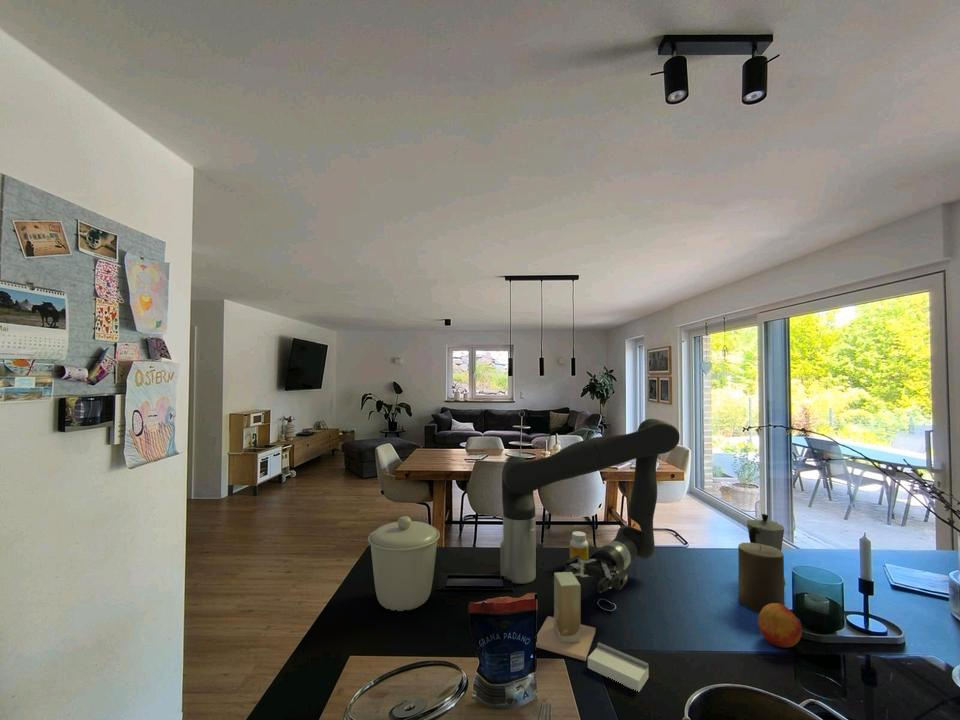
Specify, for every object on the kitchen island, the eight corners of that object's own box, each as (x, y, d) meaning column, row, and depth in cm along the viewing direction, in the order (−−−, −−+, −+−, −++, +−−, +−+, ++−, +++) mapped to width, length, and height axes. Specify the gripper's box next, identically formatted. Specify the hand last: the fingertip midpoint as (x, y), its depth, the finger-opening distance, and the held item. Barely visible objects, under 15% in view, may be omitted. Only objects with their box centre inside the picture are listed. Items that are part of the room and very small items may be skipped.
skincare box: (553, 626, 96) (553, 571, 97) (572, 625, 97) (571, 570, 97) (561, 644, 90) (560, 585, 90) (581, 643, 90) (581, 584, 91)
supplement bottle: (588, 571, 126) (588, 537, 126) (570, 569, 127) (569, 536, 127) (588, 563, 131) (587, 531, 131) (570, 561, 132) (569, 529, 132)
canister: (385, 580, 120) (386, 504, 120) (448, 587, 116) (448, 508, 117) (353, 615, 102) (354, 526, 103) (426, 625, 98) (426, 532, 99)
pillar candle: (770, 619, 101) (770, 554, 101) (730, 600, 109) (729, 540, 110) (793, 609, 105) (792, 547, 106) (752, 591, 114) (752, 534, 114)
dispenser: (587, 667, 84) (587, 654, 84) (598, 655, 88) (598, 642, 88) (638, 692, 77) (638, 677, 78) (648, 677, 81) (648, 663, 81)
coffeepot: (758, 566, 129) (756, 506, 129) (795, 578, 121) (793, 514, 122) (733, 580, 120) (732, 515, 121) (771, 594, 112) (770, 525, 113)
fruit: (812, 658, 87) (811, 618, 87) (768, 653, 88) (767, 614, 89) (791, 635, 95) (790, 598, 95) (751, 631, 96) (750, 595, 96)
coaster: (533, 646, 91) (533, 642, 91) (547, 619, 101) (547, 616, 101) (585, 661, 86) (585, 657, 86) (595, 631, 96) (595, 627, 96)
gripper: (585, 538, 117) (555, 557, 105) (638, 552, 107) (610, 575, 95) (586, 566, 117) (555, 588, 104) (638, 583, 107) (611, 609, 95)
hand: (581, 582), depth 100 cm, fingers open, 8 cm apart
